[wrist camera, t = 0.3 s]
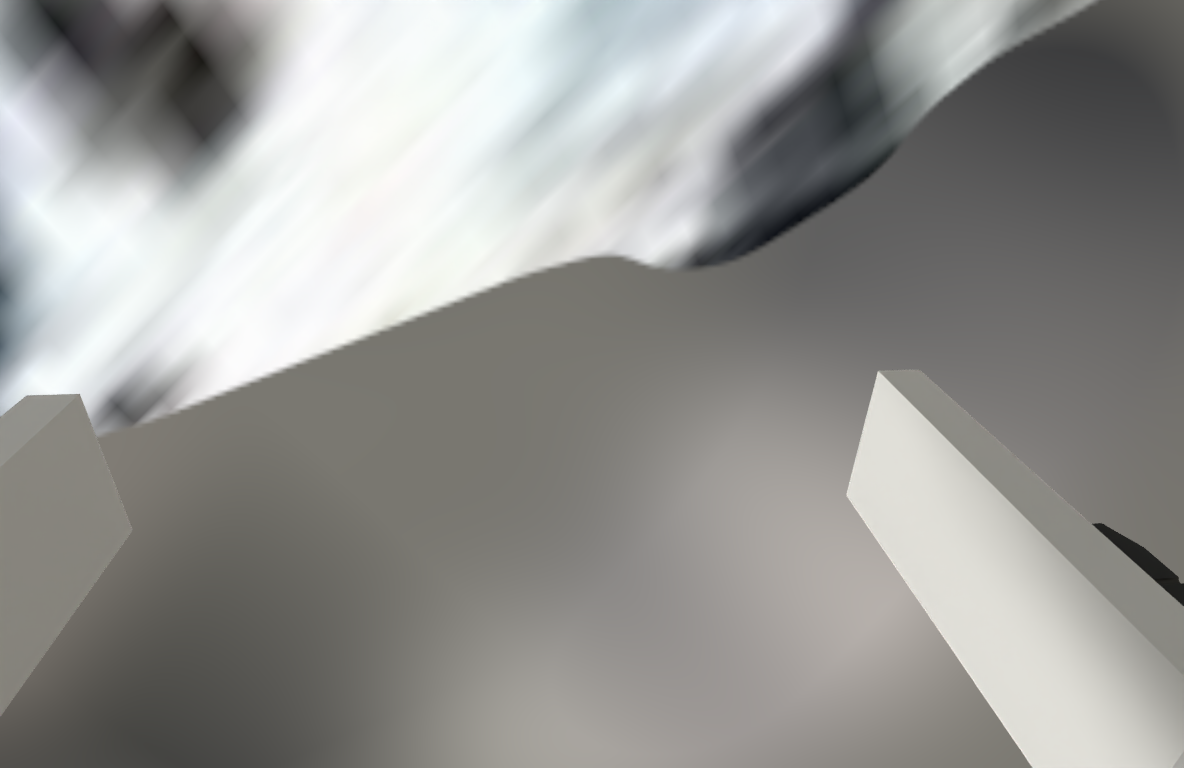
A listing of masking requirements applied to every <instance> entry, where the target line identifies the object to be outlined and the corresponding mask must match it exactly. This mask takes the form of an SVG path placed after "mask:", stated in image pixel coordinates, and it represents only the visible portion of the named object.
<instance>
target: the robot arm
mask: <svg viewBox="0 0 1184 768" xmlns="http://www.w3.org/2000/svg"><path fill="white" fill-rule="evenodd" d="M846 496H847V497H848V499H849V500H850V501H851V503H852V504H853V506H854V507H855V509H856V510H857V512H858V513H859V515H860V516H861V517H862V519H863V520H864V522H865V523H866V525H867V526H868V528H869V529H870V531H871V532H872V534H873V535H874V536H875V538H876V539H877V541H878V542H879V544H880V545H881V547H882V548H883V550H884V551H885V553H886V554H887V556H888V557H889V558H890V560H891V561H892V563H893V564H894V566H895V567H896V569H897V570H898V572H899V573H900V575H901V576H902V577H903V579H904V580H905V582H906V583H907V585H908V586H909V587H910V589H911V590H912V592H913V593H914V595H915V596H916V598H917V599H918V601H919V602H920V604H921V605H922V606H923V608H924V610H925V611H926V612H927V614H928V615H929V617H930V618H931V620H932V621H933V623H934V624H935V626H936V627H937V629H938V630H939V632H940V633H941V634H942V636H943V637H944V639H945V640H946V642H947V643H948V645H949V646H950V648H951V649H952V651H953V652H954V653H955V655H956V656H957V658H958V659H959V661H960V662H961V664H962V665H963V667H964V668H965V669H966V671H967V672H968V674H969V675H970V677H971V678H972V680H973V681H974V683H975V684H976V686H977V687H978V688H979V690H980V691H981V693H982V694H983V696H984V697H985V699H986V700H987V702H988V703H989V704H990V706H991V708H992V709H993V710H994V712H995V713H996V715H997V716H998V718H999V719H1000V721H1001V722H1002V723H1003V725H1004V727H1005V728H1006V729H1007V731H1008V732H1009V734H1010V735H1011V737H1012V738H1013V740H1014V741H1015V743H1016V744H1017V745H1018V747H1019V748H1020V750H1021V751H1022V753H1023V754H1024V756H1025V757H1026V759H1027V760H1028V762H1029V763H1030V764H1031V766H1032V767H1033V768H1184V584H1181V583H1180V582H1179V580H1178V579H1179V578H1178V576H1177V575H1175V574H1174V573H1173V572H1172V571H1171V570H1170V569H1168V568H1167V567H1166V566H1165V565H1164V564H1163V563H1161V562H1160V561H1159V560H1158V559H1157V558H1156V557H1154V556H1153V555H1152V554H1151V553H1150V552H1149V551H1147V550H1146V549H1145V548H1144V547H1142V546H1140V545H1139V544H1137V543H1135V542H1133V541H1131V540H1130V539H1128V538H1126V537H1125V536H1123V535H1121V534H1119V533H1118V532H1116V531H1114V530H1112V529H1111V528H1109V527H1107V526H1105V525H1104V524H1101V523H1098V524H1091V523H1090V522H1089V521H1088V520H1087V519H1085V518H1084V517H1083V516H1082V515H1081V514H1080V513H1079V512H1078V511H1076V510H1075V509H1074V508H1073V507H1072V506H1071V505H1070V504H1069V503H1067V502H1066V501H1065V500H1064V499H1063V498H1062V497H1061V496H1060V495H1058V494H1057V493H1056V492H1055V491H1054V490H1053V489H1052V488H1051V487H1050V486H1049V485H1047V484H1046V483H1045V482H1044V481H1043V480H1042V479H1041V478H1040V477H1039V476H1037V475H1036V474H1035V473H1034V472H1033V471H1032V470H1031V469H1030V468H1028V467H1027V466H1026V465H1025V464H1024V463H1023V462H1022V461H1021V460H1019V459H1018V458H1017V457H1016V456H1015V455H1014V454H1013V453H1012V452H1011V451H1010V450H1008V449H1007V448H1006V447H1005V446H1004V445H1003V444H1002V443H1000V442H999V441H998V440H997V439H996V438H995V437H994V436H993V435H992V434H990V433H989V432H988V431H987V430H986V429H985V428H984V427H983V426H982V425H980V424H979V423H978V422H977V421H976V420H975V419H974V418H972V416H970V415H969V414H968V413H967V412H966V411H965V410H964V409H963V408H962V407H960V406H959V405H958V404H957V403H956V402H955V401H954V400H953V399H951V398H950V397H949V396H948V395H947V394H946V393H945V392H944V391H942V390H941V389H940V388H939V387H938V386H937V385H936V384H935V383H934V382H933V381H931V380H930V379H929V378H928V377H927V376H926V375H925V374H923V373H922V372H921V371H920V370H891V371H878V374H877V378H876V382H875V386H874V390H873V393H872V397H871V402H870V405H869V409H868V413H867V417H866V421H865V425H864V429H863V433H862V436H861V440H860V444H859V448H858V452H857V455H856V459H855V463H854V467H853V471H852V475H851V479H850V483H849V487H848V491H847V494H846ZM131 531H132V528H131V525H130V522H129V520H128V517H127V515H126V512H125V510H124V507H123V505H122V502H121V499H120V497H119V494H118V492H117V489H116V486H115V484H114V481H113V479H112V476H111V473H110V471H109V468H108V466H107V463H106V461H105V458H104V455H103V453H102V450H101V448H100V446H99V443H98V440H97V437H96V435H95V432H94V430H93V427H92V425H91V422H90V419H89V417H88V414H87V412H86V409H85V407H84V404H83V401H82V399H81V396H80V394H64V395H30V396H26V397H24V398H23V399H22V400H21V401H19V402H18V403H17V404H16V405H15V406H13V407H12V408H11V409H10V410H8V411H7V412H6V413H5V414H4V415H2V416H1V417H0V716H1V715H2V713H3V712H4V711H5V709H6V708H7V706H8V705H9V703H10V702H11V701H12V699H13V698H14V697H15V695H16V694H17V692H18V691H19V690H20V688H21V686H22V685H23V684H24V682H25V681H26V680H27V678H28V677H29V675H30V674H31V673H32V671H33V670H34V668H35V667H36V666H37V664H38V663H39V661H40V660H41V659H42V657H43V656H44V654H45V653H46V651H47V650H48V649H49V647H50V646H51V644H52V643H53V642H54V640H55V639H56V637H57V636H58V634H59V633H60V632H61V630H62V629H63V627H64V626H65V625H66V623H67V622H68V620H69V619H70V618H71V616H72V615H73V613H74V612H75V611H76V609H77V608H78V606H79V605H80V604H81V602H82V601H83V599H84V598H85V596H86V595H87V594H88V592H89V591H90V589H91V588H92V587H93V585H94V584H95V582H96V581H97V579H98V578H99V576H100V575H101V574H102V573H103V571H104V569H105V568H106V567H107V565H108V564H109V563H110V561H111V560H112V558H113V557H114V555H115V554H116V553H117V551H118V550H119V549H120V547H121V546H122V544H123V543H124V541H125V540H126V539H127V537H128V536H129V534H130V533H131Z"/></svg>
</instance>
